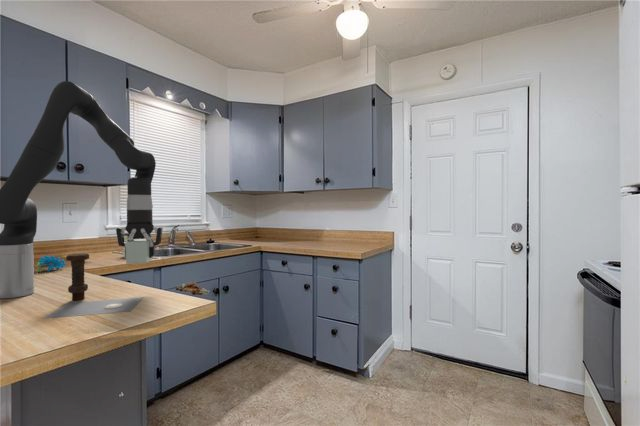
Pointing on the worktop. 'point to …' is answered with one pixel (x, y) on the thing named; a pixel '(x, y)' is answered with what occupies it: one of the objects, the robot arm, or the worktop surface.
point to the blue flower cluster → (50, 263)
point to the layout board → (95, 307)
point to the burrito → (192, 289)
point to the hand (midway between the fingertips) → (140, 257)
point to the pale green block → (137, 251)
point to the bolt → (77, 276)
